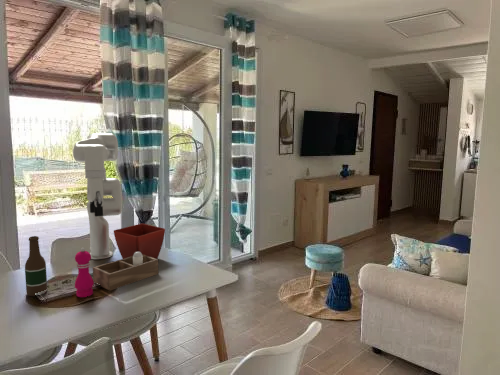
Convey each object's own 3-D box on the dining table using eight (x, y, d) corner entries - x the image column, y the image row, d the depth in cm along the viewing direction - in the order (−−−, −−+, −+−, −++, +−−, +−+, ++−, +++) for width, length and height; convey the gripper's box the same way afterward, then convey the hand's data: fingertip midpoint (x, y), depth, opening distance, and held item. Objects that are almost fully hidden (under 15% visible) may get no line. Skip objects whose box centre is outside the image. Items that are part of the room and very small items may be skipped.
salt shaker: (131, 274, 174) (130, 251, 173) (139, 271, 178) (138, 249, 176) (136, 276, 172) (136, 253, 170) (144, 274, 175) (144, 251, 173)
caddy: (93, 284, 164) (92, 267, 163) (141, 269, 184) (141, 253, 183) (109, 292, 156) (109, 274, 155) (158, 275, 176) (157, 259, 175)
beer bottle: (44, 287, 160) (41, 233, 157) (50, 293, 155) (47, 237, 152) (24, 292, 155) (20, 236, 152) (29, 298, 150) (25, 240, 146)
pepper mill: (75, 299, 150) (73, 251, 147) (74, 292, 156) (72, 246, 153) (94, 296, 153) (92, 249, 150) (93, 289, 159) (91, 244, 157)
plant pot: (137, 269, 184) (137, 236, 181) (113, 261, 194) (112, 230, 192) (166, 259, 199) (166, 228, 197) (142, 252, 210) (142, 223, 207)
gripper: (81, 173, 163) (83, 212, 165) (89, 176, 149) (91, 218, 151) (99, 172, 167) (101, 210, 169) (108, 175, 153) (110, 216, 155)
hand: (96, 214), depth 160 cm, fingers open, 9 cm apart
